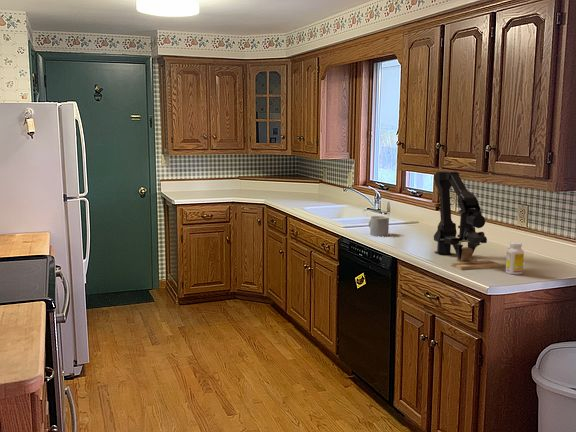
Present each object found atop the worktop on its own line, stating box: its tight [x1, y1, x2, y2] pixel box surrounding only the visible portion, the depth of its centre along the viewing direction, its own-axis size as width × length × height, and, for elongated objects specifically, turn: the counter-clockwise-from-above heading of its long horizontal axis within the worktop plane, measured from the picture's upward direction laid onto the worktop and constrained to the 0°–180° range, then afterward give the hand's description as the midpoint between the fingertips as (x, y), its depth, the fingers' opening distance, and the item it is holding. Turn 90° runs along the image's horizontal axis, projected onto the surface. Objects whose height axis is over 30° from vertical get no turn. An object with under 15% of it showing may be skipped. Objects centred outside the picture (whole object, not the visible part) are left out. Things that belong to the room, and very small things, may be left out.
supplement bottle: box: [505, 241, 525, 276], centre depth 247 cm, size 7×7×13 cm
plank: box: [450, 259, 501, 271], centre depth 260 cm, size 8×20×1 cm, turn 109°
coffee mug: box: [368, 215, 390, 237], centre depth 332 cm, size 13×10×10 cm
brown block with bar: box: [456, 246, 478, 262], centre depth 262 cm, size 10×5×6 cm, turn 19°
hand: (464, 258), depth 265 cm, fingers closed on brown block with bar, 5 cm apart
